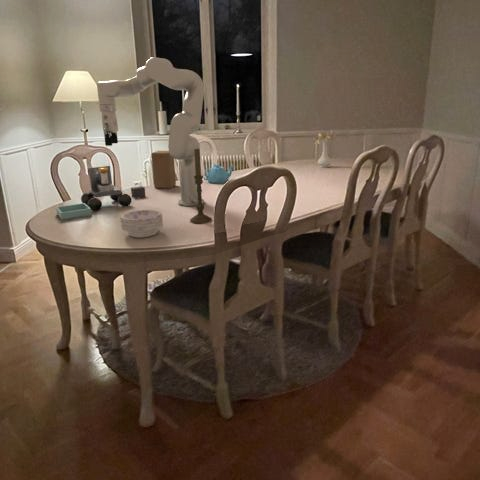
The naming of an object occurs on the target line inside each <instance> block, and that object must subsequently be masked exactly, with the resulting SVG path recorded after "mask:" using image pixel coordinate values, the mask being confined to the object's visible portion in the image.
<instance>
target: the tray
mask: <svg viewBox="0 0 480 480" xmlns="http://www.w3.org/2000/svg"><path fill="white" fill-rule="evenodd" d="M55 210H56V215H57V217H58V218H59V219H60V220H61V221H70V220H76V219H83V218H88V217H92V216H93V215H92V210H91V208H90V207H88V205H86V204H85V203H76V204H70V205H62V206H55Z"/></svg>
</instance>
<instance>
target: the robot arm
mask: <svg viewBox="0 0 480 480" xmlns="http://www.w3.org/2000/svg"><path fill="white" fill-rule="evenodd" d="M158 83H159V84H161V85H163V86H164V87H167V88H169V89H171V90H175V91H185V96H184V98H183V101H182V103H183V104H182V111H181V112H179V113H176V114H175V115H174V116H173V117H172V119H171V121H170V126H169V133H168V134H169V135H168V146H167V148H168V151H169V153H170V155H171V156H172V157H173V158H174V160H176V161H177V160H179V161H178V162H179V163H178V166H179V167H178V173H179V174H178V175H179V187H180V188H179V189H180V196H181V197H180V199H179V200H178V201H177V203H178V205H179V206H183V207H194V206H195V207H196V205H198V192H197V184H195V178H194V176H196V171H195V154H194V149H200V150H201V147H200V142H199V140H198V139H197V138H196V137H195V136H192V135H191V134H195V133H197V132H198V131H199V129H200V127H201V119H202V111H203V104H204V103H203V102H204V95H205V84H204V81H203V79H202V78H201V76H200V75H199V74H198V73H197V72H195V71H193V70H189V69H185V68H184V69H183V68H176V67H174V65H173V64H172V62H171V61H170V60H169V59H167V58H162V57H161V58H160V57H150V58H149V59H148V60H146V62H145V63H144V66H142V67H139V68H138V69H137V70H136V72H135V76H134V77H131V78H128V79H124V80H121V79H120V80H115V79H113V80H108V81H107V80H105V81H104V80H102V81H98V82H96V89H97V96H98V97H97V98H98V104H99V105H98V106H99V112H100V113H101V124H102V130H103V137H104V143H105V146H106V147H107V146H108V147H109V146H111V147H112V146H113V144H119V141H118V132H119V125H118V119H117V114H116V112H117V107H116V100H115V99H116V98H129V97H132V96H135V95H137V94H140V93H142V92H144V91H145V90H146V89H147V88H148V87H151V86H152V85H155V84H158ZM197 147H198V148H197ZM201 201H202V204H203V205H204V204H205V199H204V198H202V200H201Z"/></svg>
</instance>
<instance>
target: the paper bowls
mask: <svg viewBox="0 0 480 480" xmlns="http://www.w3.org/2000/svg"><path fill="white" fill-rule="evenodd" d="M163 220H164V219H163V213H162V212H161V211H160V210H155V209H154V210H153V209H143V210H133V211H128V212H126V213H123V214H121V215H120V223H121V229H122V230H123V231H125V232H127V233H128V235H129V236H131V237H133V238H137V239H139V238H141V239H143V238H149V237H153V236H155V235H156V234H158V230H159V229H160V228H161V229H162V227H163V225H164V223H163V222H164V221H163Z"/></svg>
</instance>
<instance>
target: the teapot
mask: <svg viewBox="0 0 480 480" xmlns="http://www.w3.org/2000/svg"><path fill="white" fill-rule="evenodd" d="M234 166H235V164H232V165H230V166H229V170H228V171H227V170H226V168H225V167H224V166H220V164H216V163H215V162H213V166H212V167H211V168H206V169H204V175H205V176H203V179H204V180H203V181H208V182H209V184H224V183H225V184H226V183H228V181H229V179H230V177H231V176H232V173H233V167H234Z"/></svg>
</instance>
